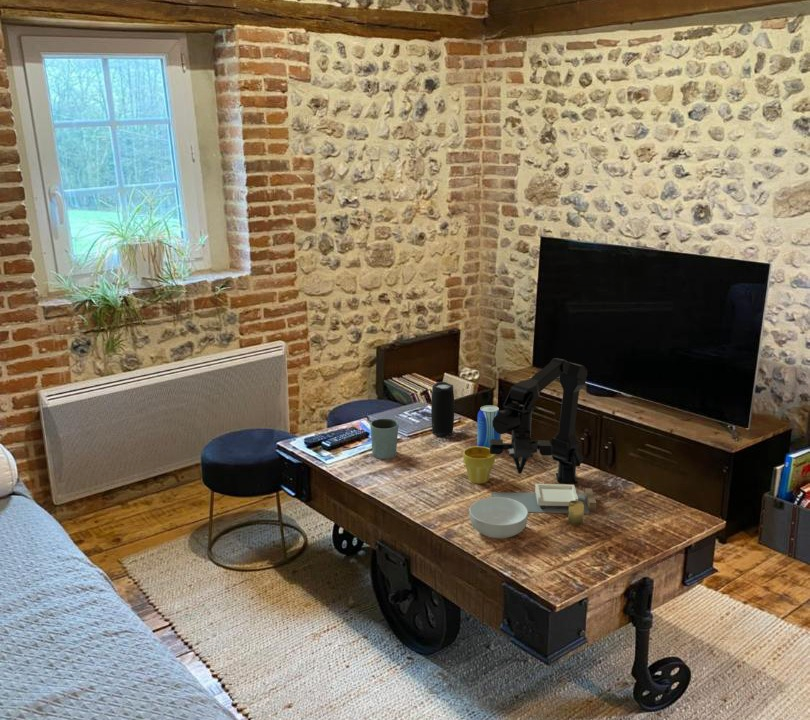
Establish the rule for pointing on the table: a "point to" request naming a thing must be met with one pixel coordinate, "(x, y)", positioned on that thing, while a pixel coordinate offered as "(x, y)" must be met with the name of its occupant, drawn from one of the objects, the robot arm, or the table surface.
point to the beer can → (486, 425)
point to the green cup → (384, 438)
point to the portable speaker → (442, 409)
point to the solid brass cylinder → (575, 513)
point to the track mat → (532, 505)
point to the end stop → (590, 500)
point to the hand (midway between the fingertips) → (519, 473)
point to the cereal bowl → (498, 517)
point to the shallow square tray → (555, 494)
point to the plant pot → (478, 463)
